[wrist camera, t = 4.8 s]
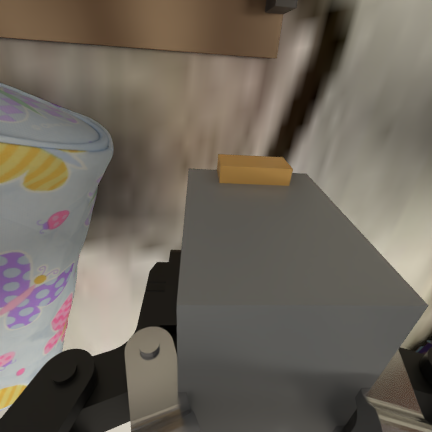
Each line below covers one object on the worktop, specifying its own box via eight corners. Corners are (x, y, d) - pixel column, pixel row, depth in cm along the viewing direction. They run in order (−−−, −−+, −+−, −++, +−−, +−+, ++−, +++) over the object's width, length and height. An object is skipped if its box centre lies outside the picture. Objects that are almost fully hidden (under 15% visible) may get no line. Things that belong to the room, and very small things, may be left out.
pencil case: (-23, 49, 15) (-290, 38, 7) (134, 113, 17) (81, 164, 9) (-22, 301, 24) (-133, 426, 16) (79, 320, 26) (28, 438, 18)
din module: (310, 158, 10) (445, 281, 4) (270, 313, 14) (314, 469, 9) (189, 153, 9) (176, 278, 4) (186, 313, 14) (178, 476, 8)
